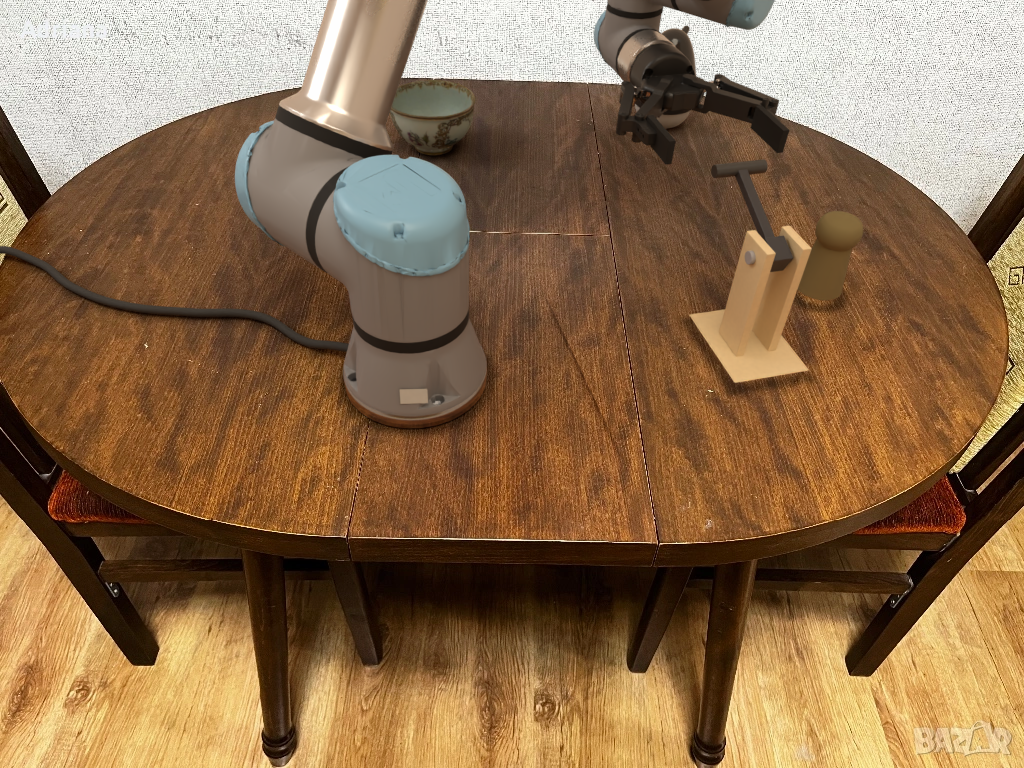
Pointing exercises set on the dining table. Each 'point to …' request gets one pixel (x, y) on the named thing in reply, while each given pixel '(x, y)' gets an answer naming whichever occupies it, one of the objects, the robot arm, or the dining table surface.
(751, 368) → the bracket
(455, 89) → the bowl
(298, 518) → the dining table surface
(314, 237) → the robot arm
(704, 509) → the dining table surface
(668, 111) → the brown white egg shape
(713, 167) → the lever
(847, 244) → the cork
